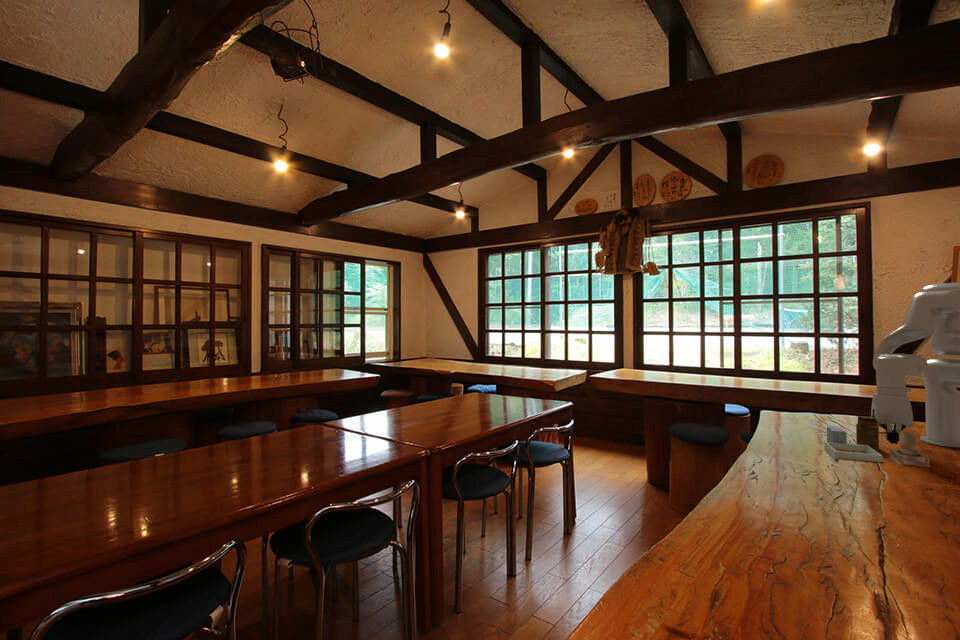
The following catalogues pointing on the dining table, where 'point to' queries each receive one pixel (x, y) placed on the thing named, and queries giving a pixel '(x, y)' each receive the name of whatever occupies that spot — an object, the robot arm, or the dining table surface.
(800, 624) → the dining table surface
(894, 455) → the socket block
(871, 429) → the condiment
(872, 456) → the tray
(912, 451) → the dowel
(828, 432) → the block
